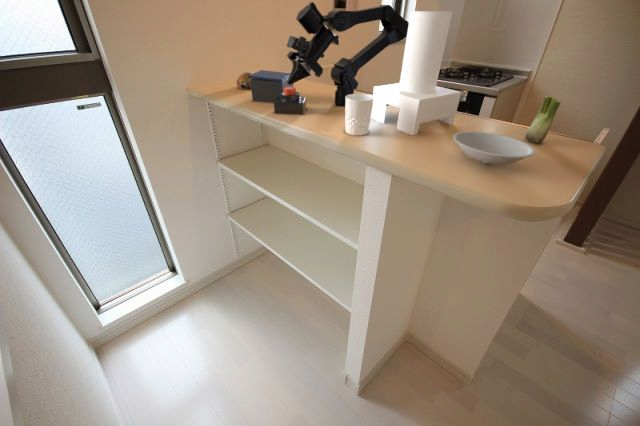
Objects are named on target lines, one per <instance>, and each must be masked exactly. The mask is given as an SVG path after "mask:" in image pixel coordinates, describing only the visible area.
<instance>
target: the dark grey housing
mask: <svg viewBox="0 0 640 426" xmlns="http://www.w3.org/2000/svg"><path fill="white" fill-rule="evenodd" d="M288 79H289V78H288ZM288 79H286V80H284V81H282V82H279V81H270V80H261V79H251V80H250V82H251V89H250V90H251V99H252V102H260V103H269V104H274V101H275V100H276V99H277V97H278V96H280V93H281V92H284V88H285V87H294V83H293V84H291V85H289V84H288V83H287V81H288Z"/></svg>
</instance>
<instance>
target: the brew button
mask: <svg viewBox="0 0 640 426" xmlns="http://www.w3.org/2000/svg"><path fill="white" fill-rule="evenodd" d="M296 90H297V89H296V87H295V86H293V87H285V88H284V94H285V95H295V94H296V92H297V91H296Z"/></svg>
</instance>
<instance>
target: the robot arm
mask: <svg viewBox="0 0 640 426" xmlns="http://www.w3.org/2000/svg"><path fill="white" fill-rule="evenodd" d="M296 21H297V22H298V23H299V24H300V26H301V27H302V28H303V30H304V31H305V32H306V33H307V35H311V34H312V35H313V36H312V37H311V39H310V40H307V38H306V37H304V36H301V35H300V36H299V37H297V36H296V37H295V36H293V35H289V37H288V39H287V44H286V47H287V48H289V49H290V48H291V49H293V50H294V51H292V50H291V51H289V52H288V54H286V57H287V58H288V59H289V61H290V62H291V64H292V69H291V71H290V73H291V74H290V76H289V79H288V81H287V83H288V84H289V85H291V84H293V85H294V84H295V83H298V82H300V81H301V80H303V79H305V78H308V77H311V76H312V74H311V72H313V73H314V76H315V77H317V78H320V77H321V76H322V75H323V73H324V68H323V67H322V65H320V63H319V62H318V61H319V60H320V58H321V59H324V57H325V54H324V53H325V52H326V51H327V50H328V48H329V47H330V46H331V45H336V46H339V45H340V41H339V38H340V36H339V35H338V34H335V33H334V32H341V33H342V32H345V31H348V30H349V29H352V28H353V27H354V26H356V25H360V24H365V23H370V22H375V21H380V23H381V26H382V27H383V28H382V30H381V33H380V34H379V35H378V36H377V37H376V38H374V39H373V40H372V41H370V43H368V44H367V45H366V46H365V47H363V48H362V49H361V50H360V51H358V52H357V53H356V54H355V55H353V56H352V57H351V58H346V57H341V58H340V59H339V60H338V61H337V62H336V63H335V62H334V63H333V66H332V67H331V70H330V78H331V80H332V81H333V85H334V86H336V89H335V91H334V104H335V106H336V107H345V97H346V96H347V95H350V94H355V93H354V92H355V90H357V89H358V86H359V82H358V80H357V79H356V77H357V75H358V73H359V70H360V69H362V68H363V67H364V66H365V65H367V64H368V63H369V62H370V61H371V60H373V59H374V58H375V57H376V56H377V55H379V54H380V53H381V52H382V51H384V50H385V49H387V48H388V47H389V46H390V45H393V44H397V43H399V42H401V41H402V40H404V39H406V38H407V31H408V25H409V20H406V19H405V18H404V17H403V16H402V15H401V14H399V13H398V12H397V11H396V10H395V9H394V8H393V7H392V6H391V5H390V4H380V5H378V6H373V7H368V8H362V9H357V10H337V9H331V10H330V11H328V13H327V14H325V15H323V14H322V13H321V12H320V9H318V7H317V5H316V4H315V2H313V1H310V2H309V3H308V4H307V5H305V6H304V8H302V9H301V10H300V11H298V13H297V15H296Z"/></svg>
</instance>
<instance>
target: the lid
mask: <svg viewBox="0 0 640 426" xmlns="http://www.w3.org/2000/svg"><path fill="white" fill-rule="evenodd" d="M290 74H291V72H284V71H283V72H282V71H276V70H275V71H273V70H265V69H261V70H258V71H256V72H252V74H251V75H249V76H248V78H253V79H261V80H270V81H279V82H282V81H284V80H286V79H288V78H289V76H290Z"/></svg>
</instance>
